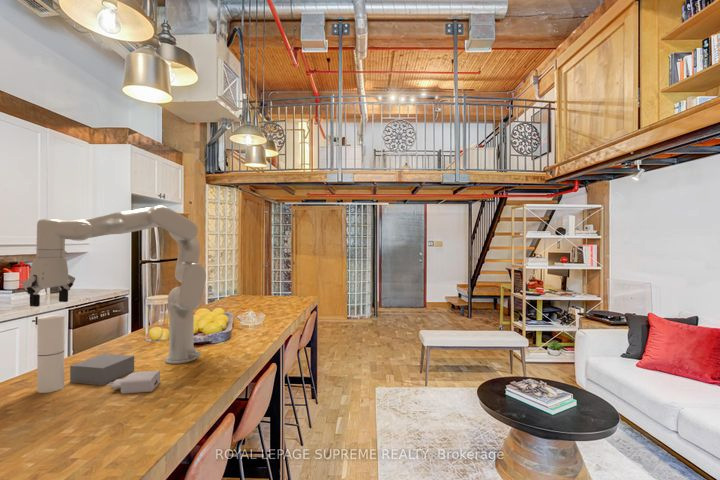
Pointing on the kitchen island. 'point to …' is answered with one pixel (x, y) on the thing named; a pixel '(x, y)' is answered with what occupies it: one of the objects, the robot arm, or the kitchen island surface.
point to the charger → (137, 382)
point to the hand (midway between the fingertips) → (49, 303)
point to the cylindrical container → (50, 353)
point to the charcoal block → (101, 369)
